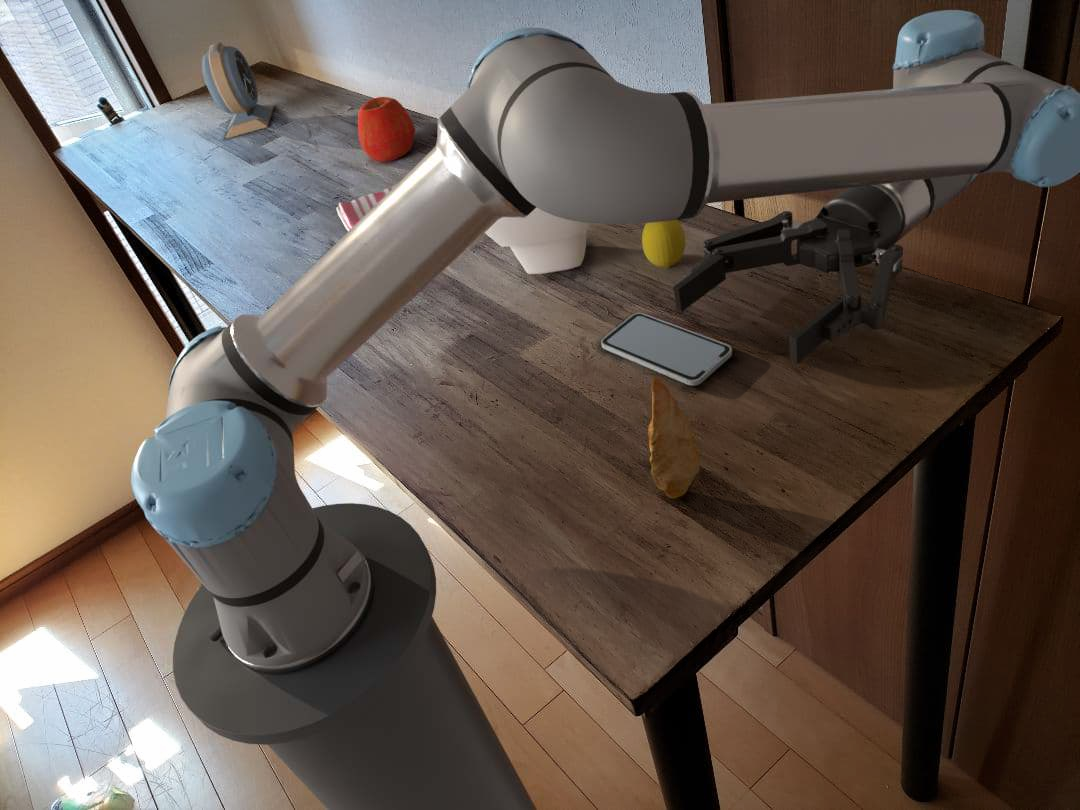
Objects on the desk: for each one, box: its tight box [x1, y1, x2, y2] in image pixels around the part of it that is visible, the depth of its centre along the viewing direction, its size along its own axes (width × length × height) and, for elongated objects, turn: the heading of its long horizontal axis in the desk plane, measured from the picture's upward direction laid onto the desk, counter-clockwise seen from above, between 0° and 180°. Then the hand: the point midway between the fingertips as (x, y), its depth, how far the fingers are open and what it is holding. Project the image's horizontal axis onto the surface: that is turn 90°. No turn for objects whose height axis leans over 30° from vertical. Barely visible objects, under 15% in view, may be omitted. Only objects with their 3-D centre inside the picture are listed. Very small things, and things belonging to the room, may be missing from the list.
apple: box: [357, 96, 416, 163], centre depth 157 cm, size 11×11×11 cm
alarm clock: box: [201, 42, 274, 140], centre depth 187 cm, size 14×10×18 cm
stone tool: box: [647, 375, 701, 500], centre depth 78 cm, size 5×2×15 cm, turn 132°
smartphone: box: [600, 312, 733, 387], centre depth 99 cm, size 7×1×15 cm
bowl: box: [484, 208, 592, 275], centre depth 115 cm, size 19×19×14 cm
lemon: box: [641, 220, 686, 269], centre depth 109 cm, size 6×6×8 cm
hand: (731, 323), depth 77 cm, fingers open, 13 cm apart
